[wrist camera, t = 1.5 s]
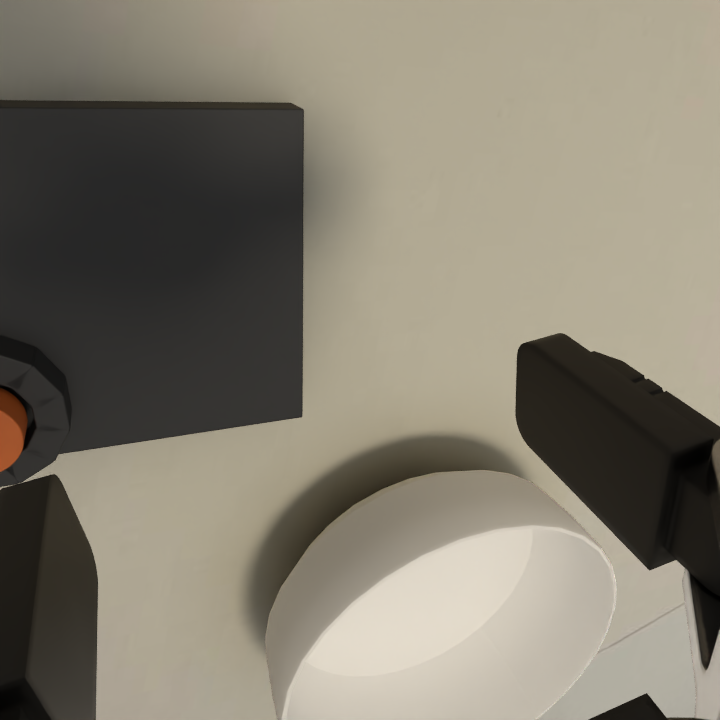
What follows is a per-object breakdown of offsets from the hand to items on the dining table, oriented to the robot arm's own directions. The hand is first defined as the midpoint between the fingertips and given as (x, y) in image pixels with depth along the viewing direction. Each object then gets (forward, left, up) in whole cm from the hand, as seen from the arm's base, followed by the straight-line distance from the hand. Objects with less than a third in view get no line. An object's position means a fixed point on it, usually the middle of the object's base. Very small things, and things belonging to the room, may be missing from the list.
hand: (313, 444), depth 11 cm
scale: (-4, -4, -18) cm, 19 cm away
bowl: (+11, -24, -18) cm, 32 cm away
